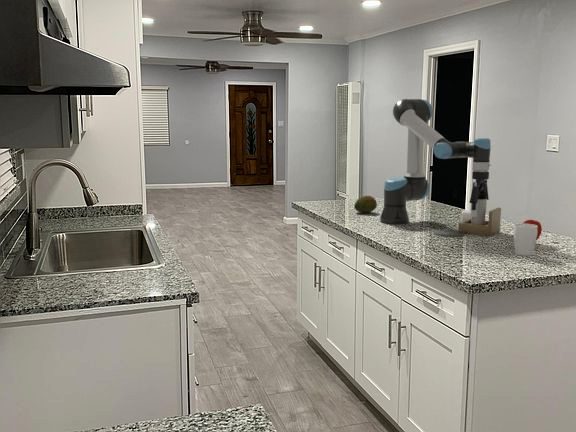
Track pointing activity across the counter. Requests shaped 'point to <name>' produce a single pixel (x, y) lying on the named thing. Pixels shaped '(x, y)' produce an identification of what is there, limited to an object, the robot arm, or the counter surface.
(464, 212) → the mug
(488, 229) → the brown wooden open box
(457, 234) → the mat
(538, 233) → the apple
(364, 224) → the counter surface
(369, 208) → the fruit
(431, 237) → the counter surface
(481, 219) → the travel mug
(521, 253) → the cup
